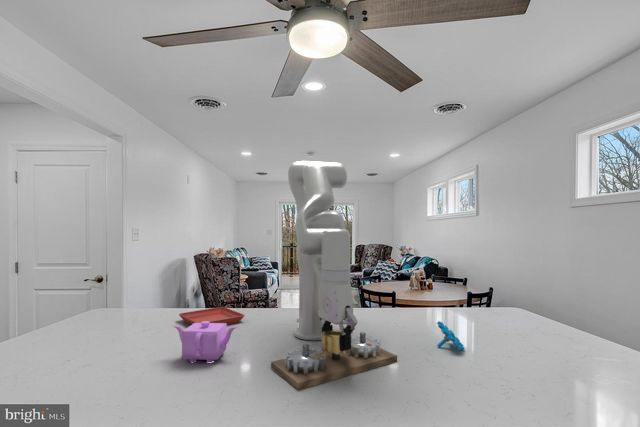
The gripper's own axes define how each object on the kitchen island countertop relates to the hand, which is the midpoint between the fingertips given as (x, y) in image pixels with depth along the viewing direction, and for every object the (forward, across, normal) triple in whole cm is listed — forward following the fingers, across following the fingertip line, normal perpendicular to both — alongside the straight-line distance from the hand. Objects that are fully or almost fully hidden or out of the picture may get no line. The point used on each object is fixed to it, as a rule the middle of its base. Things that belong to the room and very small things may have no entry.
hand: (336, 344), depth 91 cm
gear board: (+5, 0, 0) cm, 5 cm away
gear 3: (+5, +8, +36) cm, 37 cm away
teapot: (+5, -23, -27) cm, 36 cm away
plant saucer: (+5, -57, -16) cm, 60 cm away
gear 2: (+4, 0, +9) cm, 10 cm away
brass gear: (+1, 0, 0) cm, 1 cm away
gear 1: (+4, 0, -9) cm, 10 cm away
